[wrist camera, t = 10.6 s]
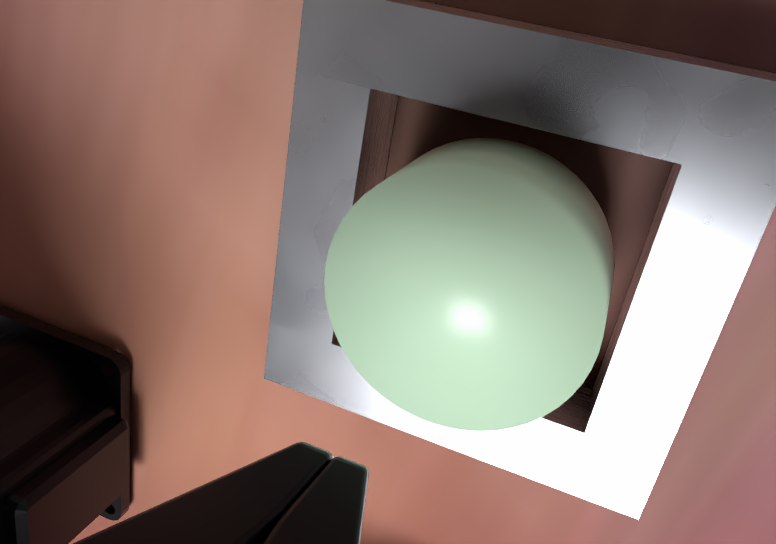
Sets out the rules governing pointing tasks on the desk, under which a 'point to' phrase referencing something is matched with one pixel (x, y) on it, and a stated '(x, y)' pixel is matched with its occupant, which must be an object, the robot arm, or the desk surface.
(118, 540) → the robot arm
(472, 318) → the button
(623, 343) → the button housing
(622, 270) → the desk surface
